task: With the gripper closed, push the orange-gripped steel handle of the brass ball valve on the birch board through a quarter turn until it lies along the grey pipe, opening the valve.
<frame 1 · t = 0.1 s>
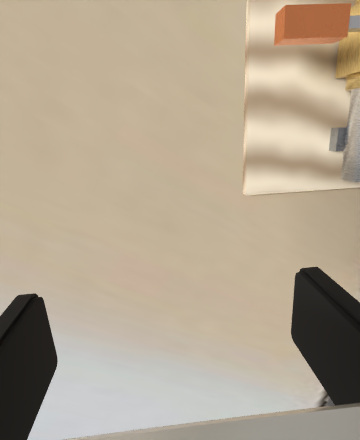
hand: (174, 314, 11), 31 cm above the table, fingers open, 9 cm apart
valve board: (342, 59, 37), on the table
pipe and valve: (351, 50, 37), resting on valve board
valve handle: (358, 23, 27), point 10 cm above the table, hinge at 0.0°
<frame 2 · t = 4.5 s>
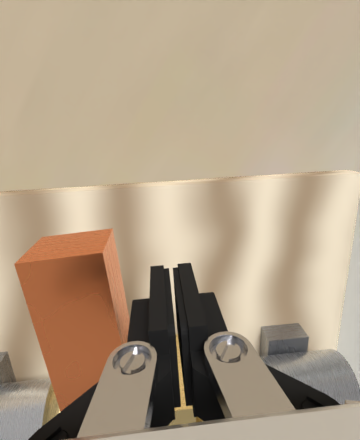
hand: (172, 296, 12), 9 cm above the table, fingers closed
valve board: (128, 342, 23), on the table
pipe and valve: (141, 350, 24), resting on valve board
valve handle: (109, 411, 12), point 10 cm above the table, hinge at 3.1°, touching gripper
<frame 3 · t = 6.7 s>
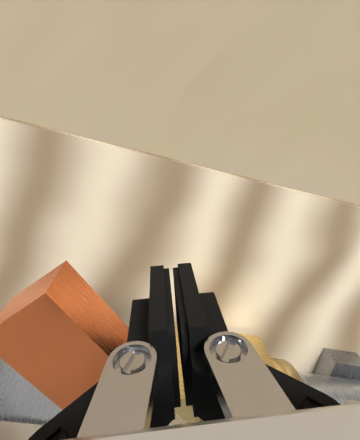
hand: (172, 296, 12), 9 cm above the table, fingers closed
valve board: (191, 332, 23), on the table
pipe and valve: (200, 343, 24), resting on valve board
valve handle: (158, 423, 12), point 10 cm above the table, hinge at 48.2°, touching gripper
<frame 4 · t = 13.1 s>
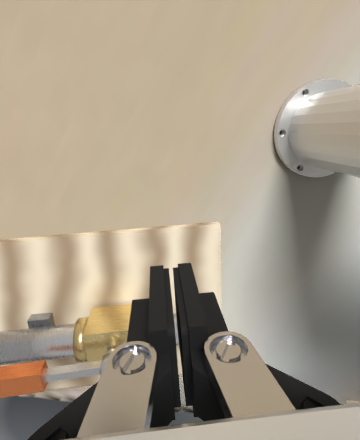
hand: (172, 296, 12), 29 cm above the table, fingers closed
valve board: (112, 309, 45), on the table
pipe and valve: (120, 313, 45), resting on valve board
valve handle: (58, 373, 35), point 10 cm above the table, hinge at 92.7°
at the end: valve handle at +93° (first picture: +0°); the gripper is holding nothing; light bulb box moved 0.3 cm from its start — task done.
